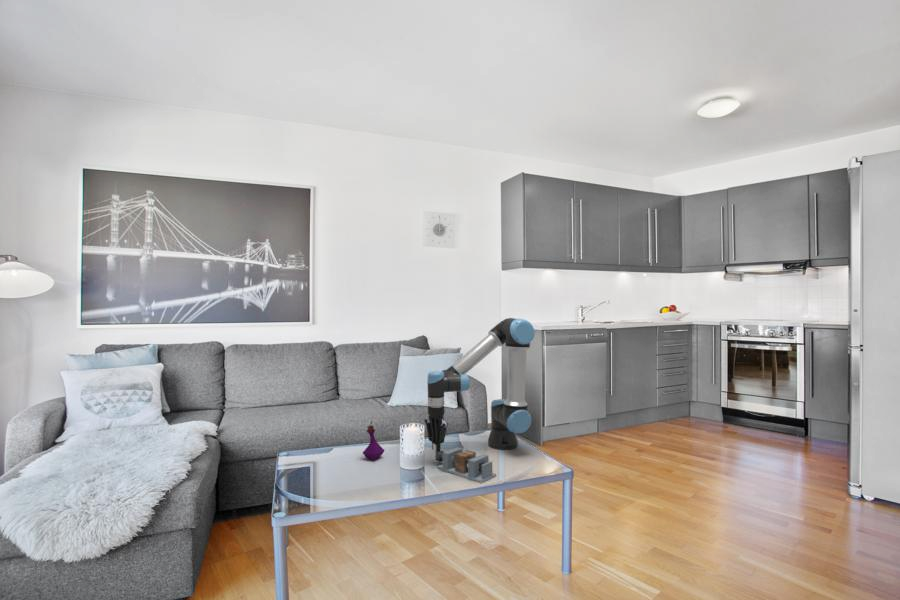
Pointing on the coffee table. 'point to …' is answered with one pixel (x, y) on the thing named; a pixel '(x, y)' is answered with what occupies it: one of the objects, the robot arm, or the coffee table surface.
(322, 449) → the coffee table surface
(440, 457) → the shaft
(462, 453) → the spacer
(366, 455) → the perfume bottle
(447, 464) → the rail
